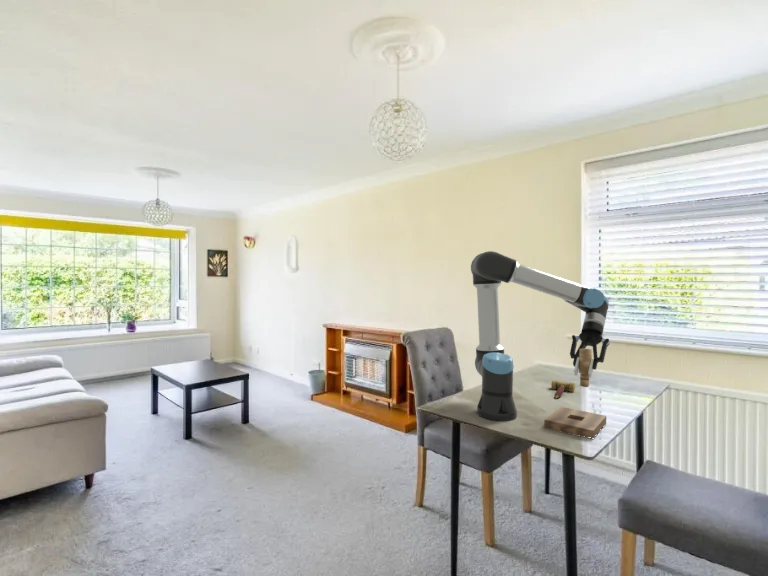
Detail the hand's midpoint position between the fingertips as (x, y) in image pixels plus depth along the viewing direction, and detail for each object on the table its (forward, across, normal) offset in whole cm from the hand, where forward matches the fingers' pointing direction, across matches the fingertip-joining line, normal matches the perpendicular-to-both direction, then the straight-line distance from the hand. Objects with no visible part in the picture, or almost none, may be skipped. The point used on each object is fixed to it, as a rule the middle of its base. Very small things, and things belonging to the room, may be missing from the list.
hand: (582, 374), depth 149 cm
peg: (+1, 0, -6) cm, 6 cm away
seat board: (+17, +1, -9) cm, 19 cm away
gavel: (-12, +16, -39) cm, 44 cm away
